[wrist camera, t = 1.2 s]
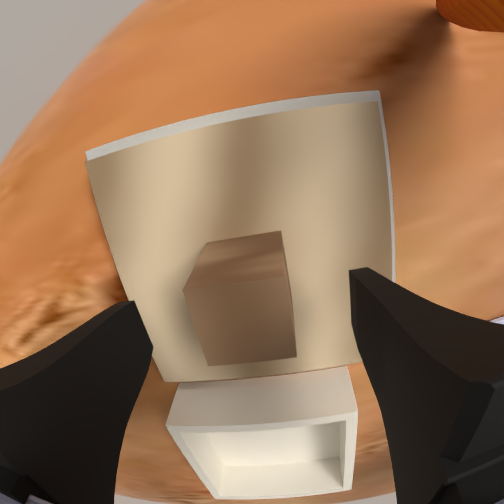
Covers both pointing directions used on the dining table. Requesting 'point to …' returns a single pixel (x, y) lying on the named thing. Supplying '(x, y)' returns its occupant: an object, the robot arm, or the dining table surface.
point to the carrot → (474, 13)
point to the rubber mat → (251, 112)
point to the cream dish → (269, 434)
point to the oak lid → (249, 238)
